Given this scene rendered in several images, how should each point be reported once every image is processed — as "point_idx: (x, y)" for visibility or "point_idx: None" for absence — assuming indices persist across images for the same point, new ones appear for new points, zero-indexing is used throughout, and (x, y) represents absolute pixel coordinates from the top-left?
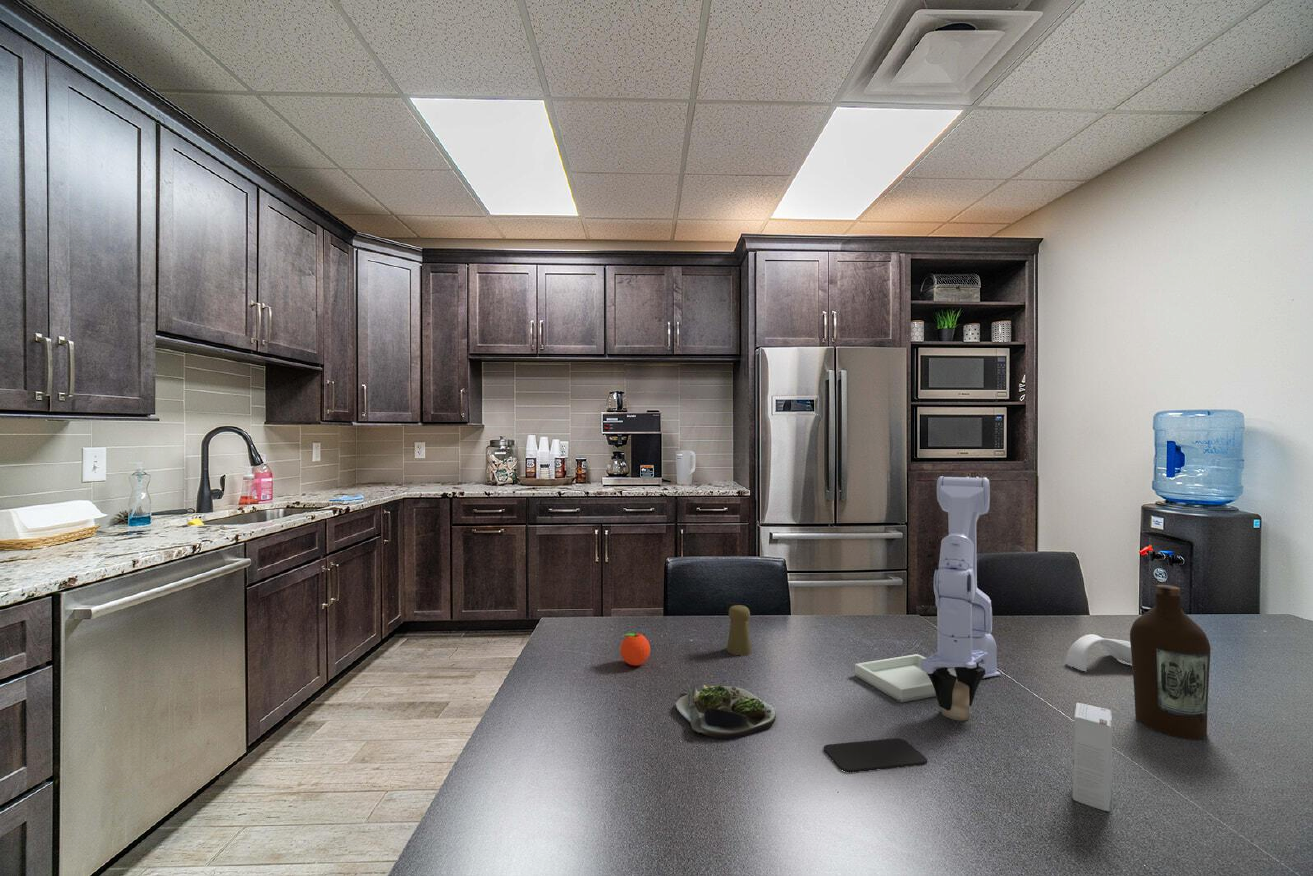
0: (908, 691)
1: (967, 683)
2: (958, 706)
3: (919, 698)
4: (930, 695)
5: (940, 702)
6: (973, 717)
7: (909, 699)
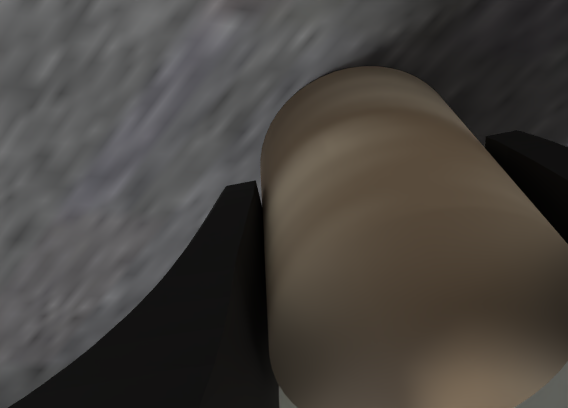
0: (550, 399)
1: (254, 353)
2: (448, 124)
3: None
4: None
5: None
6: (240, 110)
7: None
